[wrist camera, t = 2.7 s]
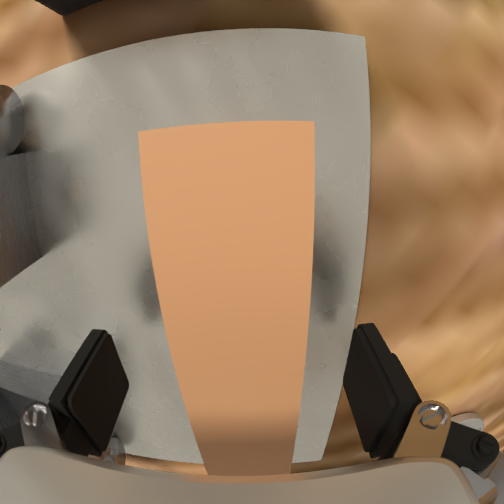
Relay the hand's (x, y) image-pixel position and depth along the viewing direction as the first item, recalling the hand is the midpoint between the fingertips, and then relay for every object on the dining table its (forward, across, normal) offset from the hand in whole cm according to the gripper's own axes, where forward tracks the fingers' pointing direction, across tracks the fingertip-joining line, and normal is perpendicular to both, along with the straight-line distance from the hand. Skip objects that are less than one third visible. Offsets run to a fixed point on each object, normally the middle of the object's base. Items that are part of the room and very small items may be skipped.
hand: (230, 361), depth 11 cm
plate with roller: (+3, +9, 0) cm, 9 cm away
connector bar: (+2, 0, 0) cm, 2 cm away
